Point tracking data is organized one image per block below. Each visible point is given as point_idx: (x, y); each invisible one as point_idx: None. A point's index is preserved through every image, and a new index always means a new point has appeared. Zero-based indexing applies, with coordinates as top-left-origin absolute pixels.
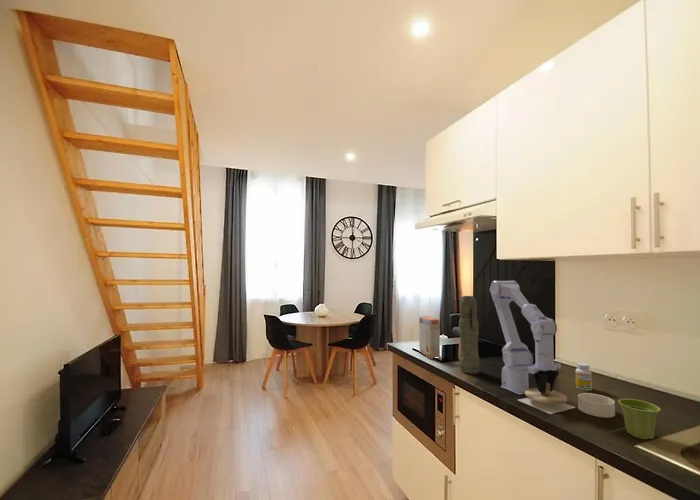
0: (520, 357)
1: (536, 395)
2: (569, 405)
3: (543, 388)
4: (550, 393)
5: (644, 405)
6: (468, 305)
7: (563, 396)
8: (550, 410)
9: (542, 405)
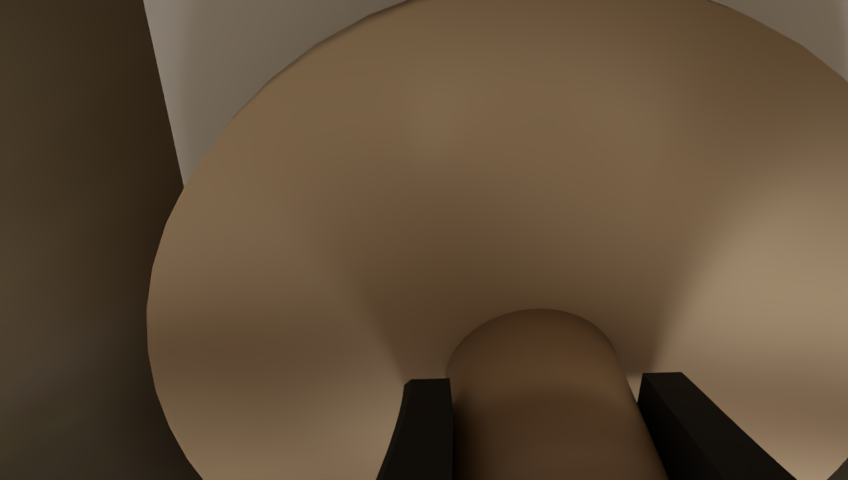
0: None
1: (740, 399)
2: (185, 75)
3: (754, 452)
4: (383, 379)
5: None
6: None
7: (263, 185)
8: None
9: None
